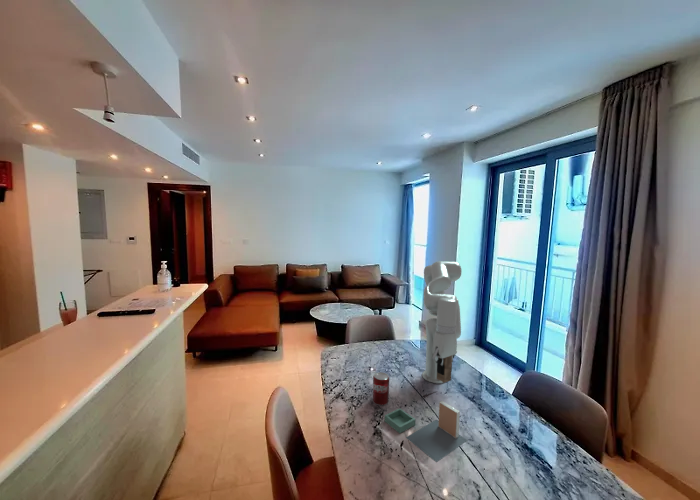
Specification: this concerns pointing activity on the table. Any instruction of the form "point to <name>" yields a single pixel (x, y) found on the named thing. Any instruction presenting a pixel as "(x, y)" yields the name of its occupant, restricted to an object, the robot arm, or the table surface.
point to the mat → (435, 441)
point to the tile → (449, 419)
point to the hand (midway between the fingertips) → (444, 371)
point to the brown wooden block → (446, 370)
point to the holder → (400, 420)
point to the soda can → (380, 388)
